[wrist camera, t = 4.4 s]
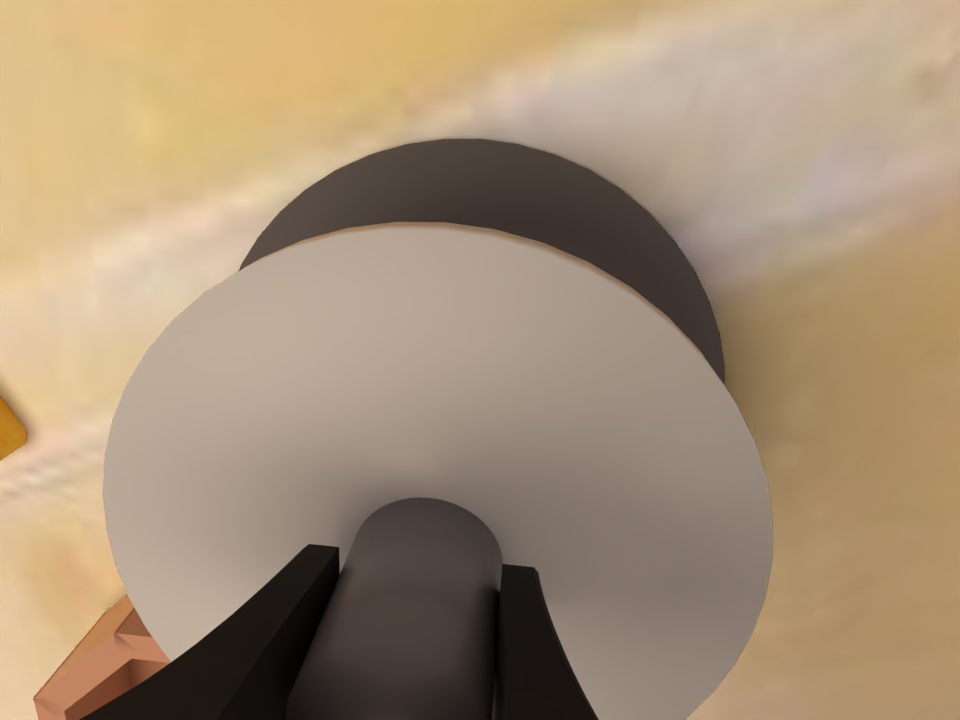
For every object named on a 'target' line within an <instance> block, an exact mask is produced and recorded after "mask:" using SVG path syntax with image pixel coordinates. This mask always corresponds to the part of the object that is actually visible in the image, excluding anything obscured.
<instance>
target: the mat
mask: <svg viewBox="0 0 960 720" xmlns="http://www.w3.org/2000/svg"><path fill="white" fill-rule="evenodd" d="M391 222H447V223H454V224H461V225H468V226H475V227H482V228H489V229H496V230H499V231H503V232H507V233H510V234H514V235H517V236H521V237H525V238H528V239H532V240H535V241H539V242H542V243H545V244H547V245H550V246H552V247H555V248H557V249H559V250H562V251H564V252H566V253H569V254H571V255H573V256H576V257H578V258H580V259H583V260H585V261H587V262H590V263H591V264H593V265H595V266H596V267H598V268H600V269H601V270H603V271H605V272H606V273H608V274H610V275H611V276H613V277H615V278H616V279H618V280H620V281H621V282H623V283H625V284H626V285H628V286H630V287H631V288H633V289H634V290H635V291H636V292H638V293H639V294H640V295H641V296H643V297H644V298H645V299H646V300H648V301H649V302H650V303H651V304H653V305H654V306H655V307H657V308H658V309H659V310H660V311H662V312H663V313H664V314H665V315H667V316H668V317H669V318H670V319H671V320H672V321H673V322H674V324H675V325H676V326H677V327H678V328H679V329H680V330H681V331H682V332H683V333H684V334H685V335H686V336H687V337H688V338H689V339H690V340H691V342H692V343H693V344H694V345H695V346H696V347H697V348H698V349H699V350H700V351H701V353H702V354H703V356H704V357H705V359H706V360H707V361H708V363H709V364H710V366H711V367H712V369H713V370H714V371H715V373H716V374H717V376H718V377H719V379H720V380H721V381H722V383H723V384H724V386H725V370H724V360H723V353H722V347H721V340H720V334H719V331H718V327H717V324H716V321H715V318H714V315H713V311H712V308H711V305H710V302H709V300H708V298H707V296H706V294H705V291H704V289H703V287H702V285H701V283H700V281H699V279H698V277H697V275H696V273H695V271H694V269H693V268H692V266H691V265H690V263H689V262H688V261H687V259H686V258H685V256H684V255H683V253H682V252H681V250H680V249H679V247H678V246H677V244H676V243H675V241H674V240H673V239H672V238H671V237H670V236H669V235H668V234H667V233H666V232H665V230H664V229H663V228H662V227H661V226H660V225H659V224H658V223H657V222H656V221H655V219H654V218H653V217H652V216H651V215H650V214H649V213H648V212H647V211H646V210H644V209H643V208H642V207H641V206H640V205H638V204H637V203H636V202H635V201H634V200H632V199H631V198H630V197H629V196H628V195H626V194H625V193H624V192H623V191H621V190H620V189H619V188H617V187H615V186H614V185H612V184H611V183H609V182H607V181H606V180H604V179H602V178H601V177H599V176H598V175H596V174H594V173H593V172H591V171H589V170H587V169H585V168H583V167H581V166H578V165H576V164H574V163H571V162H569V161H567V160H565V159H562V158H560V157H558V156H556V155H553V154H549V153H546V152H542V151H539V150H535V149H531V148H528V147H524V146H521V145H517V144H510V143H502V142H495V141H488V140H481V139H443V140H436V141H429V142H421V143H414V144H407V145H403V146H400V147H396V148H393V149H389V150H386V151H383V152H379V153H376V154H372V155H369V156H367V157H365V158H362V159H360V160H358V161H356V162H353V163H351V164H349V165H347V166H345V167H342V168H340V169H338V170H336V171H334V172H332V173H331V174H329V175H328V176H326V177H325V178H323V179H322V180H320V181H318V182H317V183H315V184H314V185H312V186H311V187H309V188H307V189H306V190H305V191H304V192H302V193H301V194H300V195H299V196H298V197H297V198H295V199H294V200H293V201H292V202H291V203H290V204H289V205H287V206H286V207H285V208H284V209H283V210H282V211H280V213H279V214H278V215H277V216H276V217H275V218H274V220H273V221H272V222H271V223H270V224H269V225H268V227H267V228H266V229H265V230H264V231H263V232H262V234H261V235H260V236H259V237H258V239H257V240H256V242H255V244H254V245H253V247H252V248H251V250H250V252H249V253H248V255H247V256H246V258H245V260H244V261H243V263H242V264H241V267H240V269H239V271H240V270H242V269H243V268H245V267H247V266H248V265H250V264H252V263H254V262H255V261H257V260H259V259H260V258H262V257H265V256H267V255H269V254H272V253H274V252H276V251H279V250H281V249H283V248H286V247H288V246H290V245H293V244H295V243H297V242H300V241H302V240H305V239H309V238H312V237H316V236H320V235H324V234H327V233H331V232H335V231H338V230H342V229H346V228H351V227H359V226H367V225H375V224H383V223H391Z"/></svg>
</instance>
